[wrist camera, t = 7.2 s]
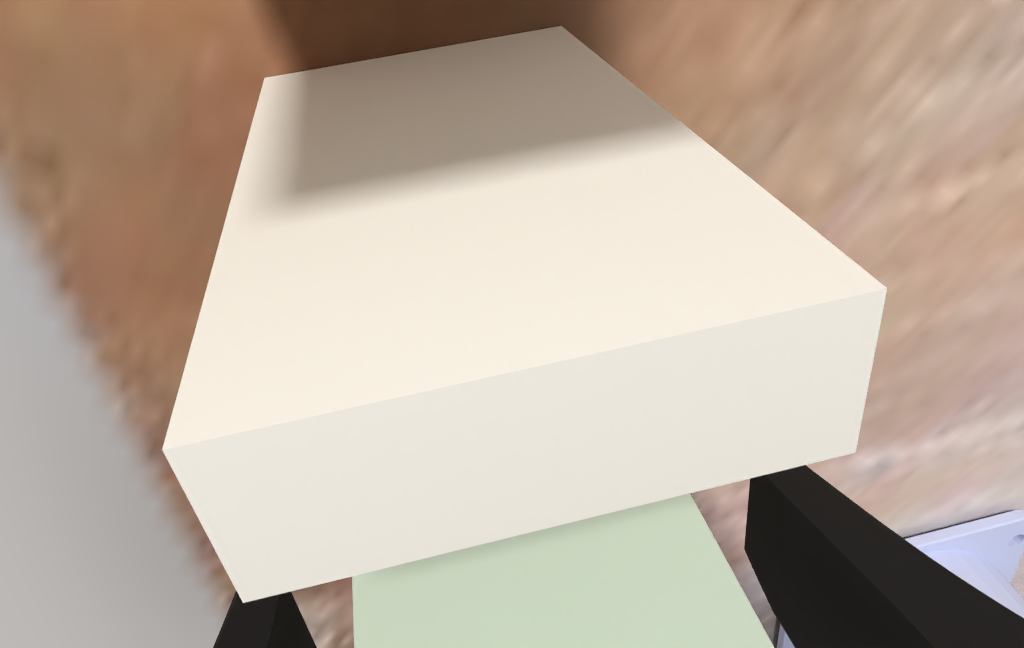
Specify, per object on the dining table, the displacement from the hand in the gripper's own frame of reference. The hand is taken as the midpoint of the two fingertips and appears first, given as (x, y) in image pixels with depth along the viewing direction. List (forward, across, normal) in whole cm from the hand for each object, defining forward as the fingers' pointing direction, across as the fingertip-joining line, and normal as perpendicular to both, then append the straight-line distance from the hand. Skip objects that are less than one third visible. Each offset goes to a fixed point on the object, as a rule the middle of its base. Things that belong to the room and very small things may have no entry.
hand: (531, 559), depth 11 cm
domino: (+6, 0, -6) cm, 8 cm away
